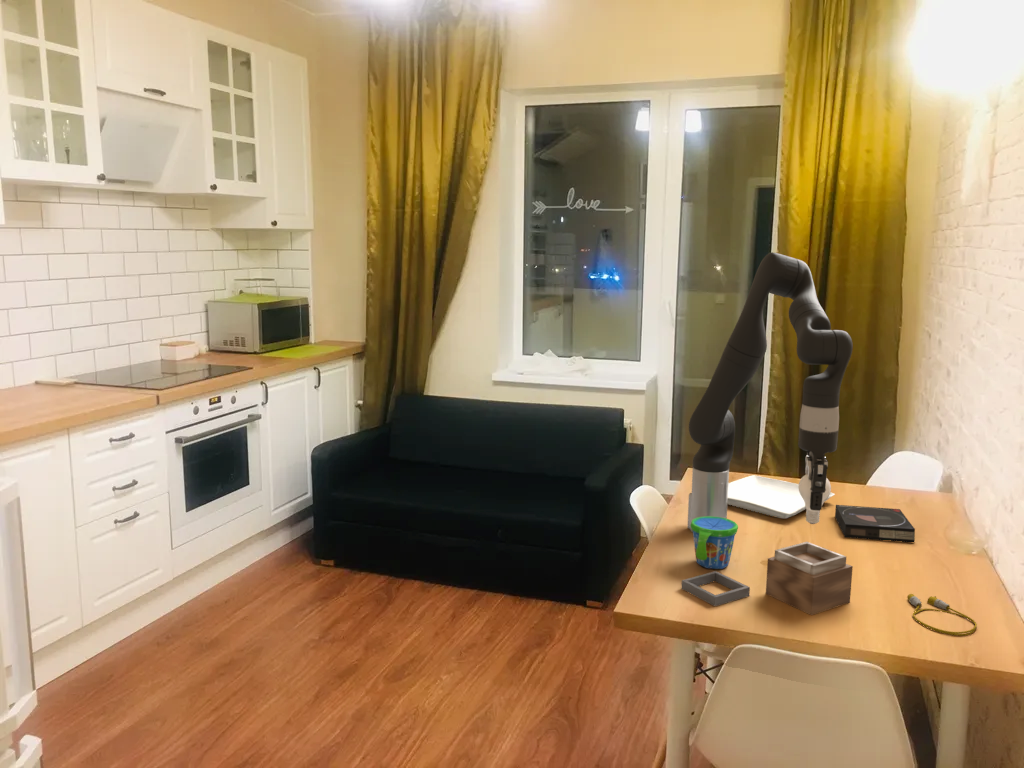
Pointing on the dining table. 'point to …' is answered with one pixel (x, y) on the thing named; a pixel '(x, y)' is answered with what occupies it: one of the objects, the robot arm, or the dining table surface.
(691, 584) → the frame
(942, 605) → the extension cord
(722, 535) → the snack cup
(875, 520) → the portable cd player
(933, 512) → the dining table surface
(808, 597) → the walnut stand
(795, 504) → the square plate
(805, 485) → the lightbulb
